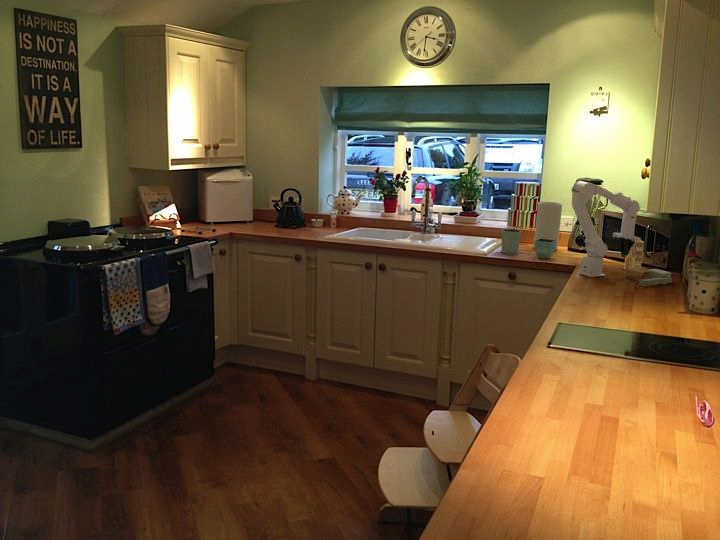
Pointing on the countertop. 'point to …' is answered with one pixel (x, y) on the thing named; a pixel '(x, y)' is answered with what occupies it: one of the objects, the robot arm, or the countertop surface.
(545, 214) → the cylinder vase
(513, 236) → the green tapered cup
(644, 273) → the walnut block
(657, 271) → the grey-blue block
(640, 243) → the candy box
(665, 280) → the stop rail
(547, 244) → the flower pot
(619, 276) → the countertop surface
